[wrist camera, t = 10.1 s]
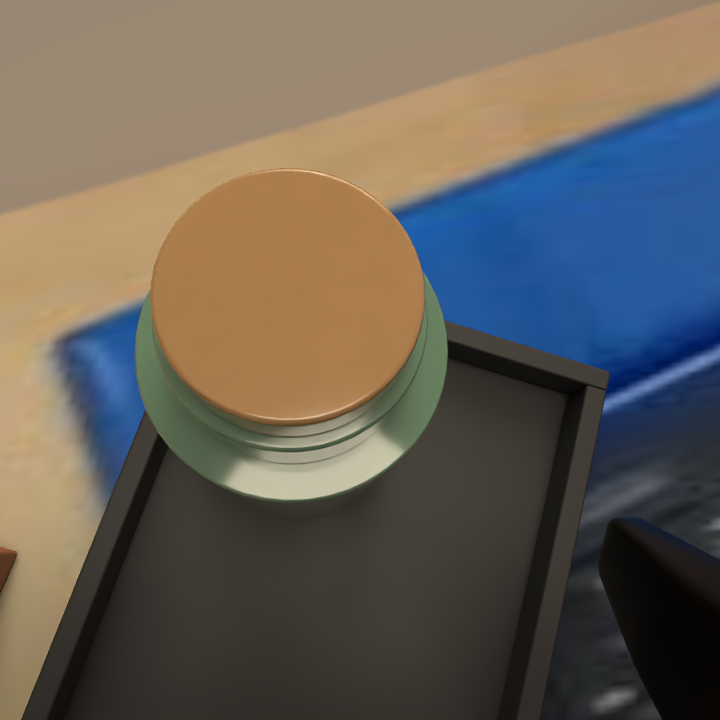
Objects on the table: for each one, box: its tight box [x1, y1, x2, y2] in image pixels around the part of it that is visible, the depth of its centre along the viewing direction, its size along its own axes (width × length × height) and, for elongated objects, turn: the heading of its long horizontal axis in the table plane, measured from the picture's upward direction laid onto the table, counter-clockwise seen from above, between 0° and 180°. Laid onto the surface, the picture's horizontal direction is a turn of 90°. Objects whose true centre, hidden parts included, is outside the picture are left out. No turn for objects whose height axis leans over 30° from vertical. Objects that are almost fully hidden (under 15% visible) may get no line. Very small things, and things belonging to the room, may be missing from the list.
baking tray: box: [21, 320, 610, 720], centre depth 18 cm, size 16×12×2 cm
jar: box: [135, 168, 448, 520], centre depth 14 cm, size 5×5×12 cm
